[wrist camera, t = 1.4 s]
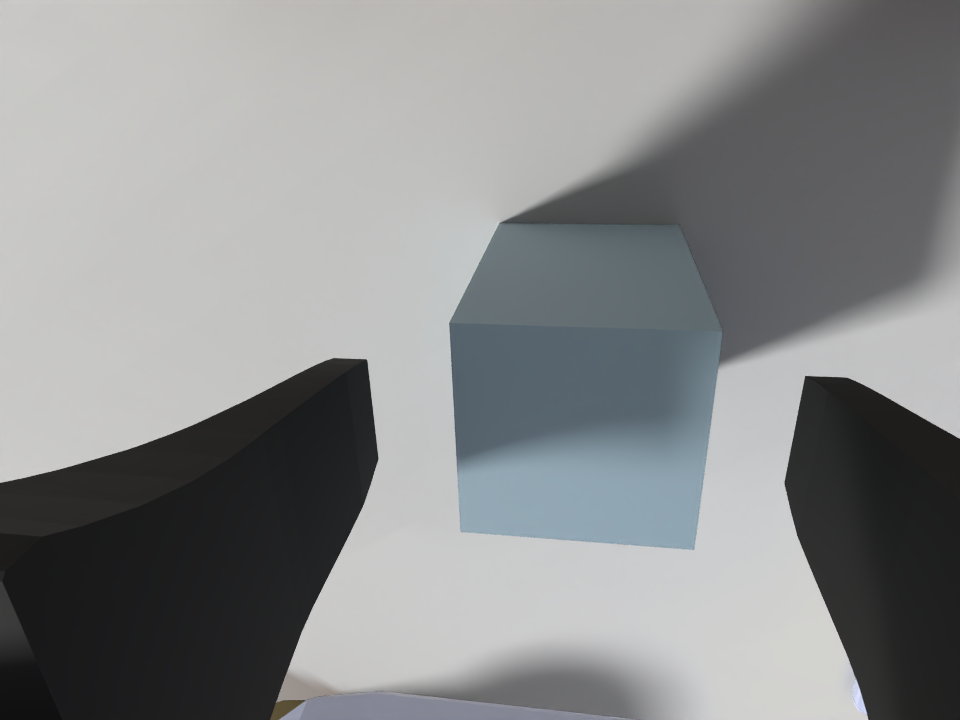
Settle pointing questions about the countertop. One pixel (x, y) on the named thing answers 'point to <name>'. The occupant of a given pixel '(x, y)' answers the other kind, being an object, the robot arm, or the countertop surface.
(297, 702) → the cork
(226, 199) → the countertop surface
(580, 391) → the peg
